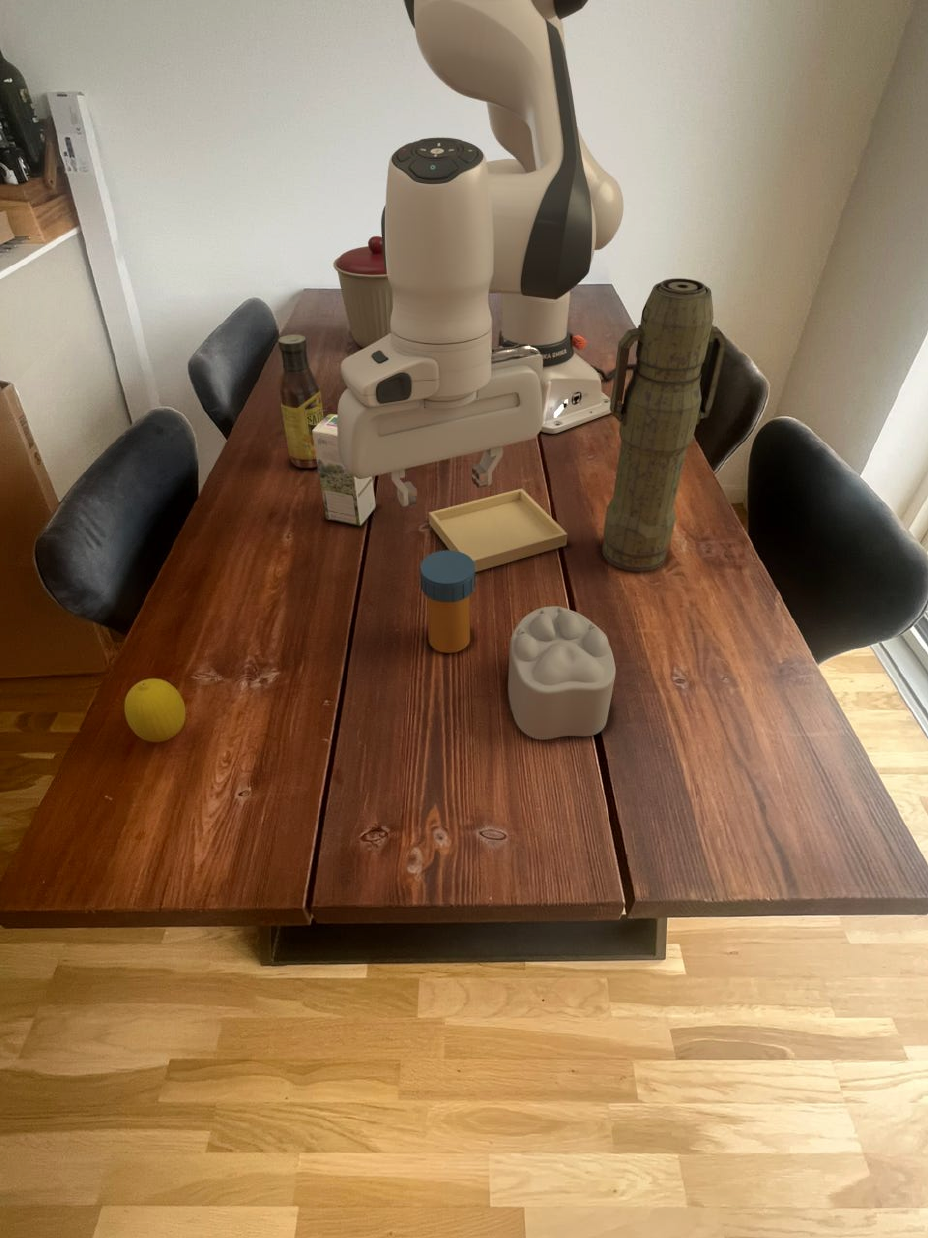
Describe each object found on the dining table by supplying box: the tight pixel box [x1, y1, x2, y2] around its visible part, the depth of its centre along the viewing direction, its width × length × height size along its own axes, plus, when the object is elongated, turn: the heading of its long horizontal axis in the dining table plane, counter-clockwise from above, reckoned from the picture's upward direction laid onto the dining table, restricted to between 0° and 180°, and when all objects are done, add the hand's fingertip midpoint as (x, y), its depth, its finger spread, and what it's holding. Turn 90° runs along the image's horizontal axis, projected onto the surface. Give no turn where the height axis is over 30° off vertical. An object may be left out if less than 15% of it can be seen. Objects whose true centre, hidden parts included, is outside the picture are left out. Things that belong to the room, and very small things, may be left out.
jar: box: [425, 594, 471, 654], centre depth 84 cm, size 5×5×10 cm
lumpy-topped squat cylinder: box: [507, 605, 617, 741], centre depth 78 cm, size 10×13×9 cm
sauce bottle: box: [277, 334, 325, 470], centre depth 114 cm, size 7×6×20 cm
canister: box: [332, 235, 393, 349], centre depth 152 cm, size 18×18×21 cm
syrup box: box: [312, 413, 377, 527], centre depth 103 cm, size 6×6×14 cm
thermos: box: [602, 277, 728, 573], centre depth 89 cm, size 9×12×35 cm
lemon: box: [123, 678, 187, 743], centre depth 74 cm, size 6×6×8 cm
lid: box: [419, 549, 476, 602], centre depth 81 cm, size 6×6×3 cm
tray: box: [428, 488, 568, 573], centre depth 103 cm, size 15×13×2 cm
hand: (445, 493), depth 74 cm, fingers open, 7 cm apart
